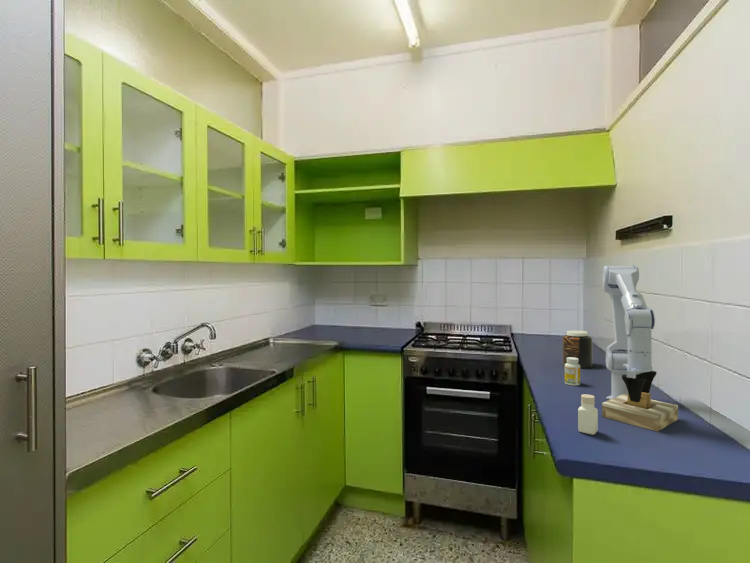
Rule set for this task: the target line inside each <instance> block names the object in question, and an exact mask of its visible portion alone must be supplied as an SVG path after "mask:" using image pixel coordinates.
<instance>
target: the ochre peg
mask: <svg viewBox="0 0 750 563" xmlns="http://www.w3.org/2000/svg"><path fill="white" fill-rule="evenodd" d="M651 395H652V394H651V393H650V392H649V393H644V392H642V393H641V399H640V402H639V403H638V402H633V401H631V400H630V397H629V393H628V405H630V406H635V407H639V408H643V409H647V410H648V409H650V408H651V400H652V398H651V397H652V396H651Z"/></svg>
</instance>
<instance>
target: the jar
mask: <svg viewBox="0 0 750 563" xmlns="http://www.w3.org/2000/svg"><path fill="white" fill-rule="evenodd" d="M561 340H562V342H561V344H562V347H561V349H562V352H561V353H562V354H561V355H562V357H561V358H562V366H564V367H565V364H566V363H567V361H566V359H567V357H574V358H578V361H579V362H578V364H579V365H580V369H591V368H593V367H594V366H593V357H594V356H593V355H594V353H593V337H591V336H590V335H589V333H588V331H587V330H586V331H585V330H566V334H565V335H563V336H562V339H561Z"/></svg>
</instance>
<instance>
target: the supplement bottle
mask: <svg viewBox="0 0 750 563" xmlns="http://www.w3.org/2000/svg"><path fill="white" fill-rule="evenodd" d="M566 361H567V363H566V364H565V366H564V384H566V385H568V386H573V387H575V386H580V385H581V368H580V365H579V364H578V362H579V361H578V358H574V357H567V359H566Z"/></svg>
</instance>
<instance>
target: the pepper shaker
mask: <svg viewBox="0 0 750 563" xmlns="http://www.w3.org/2000/svg"><path fill="white" fill-rule="evenodd" d="M595 398H596V397H595V396H594V395H593V394H589V393H588V394H584V393H583V394H581V396H580V403H581V405H580V406H579V407H578V409H577V414H578V416H577V419H578V420H577V426H578V427H577V428H578V429H577V430H578V432H580V433H583V434H587V435H595V434H596V433H597V432H598V430H599V417H598V416H599V414H598V413H599V412H598V411H599V410H598V409H597V408H596V407H595V404H596V402H595V401H596V399H595Z"/></svg>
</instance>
